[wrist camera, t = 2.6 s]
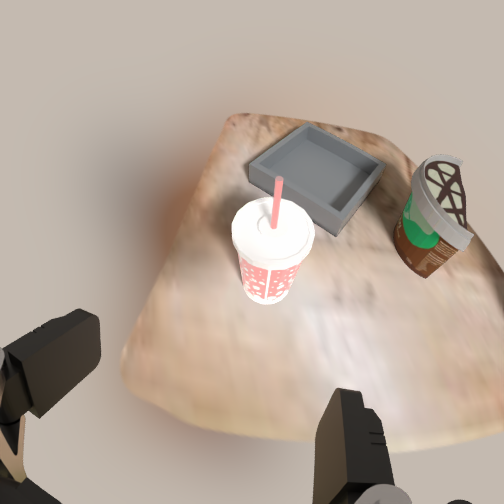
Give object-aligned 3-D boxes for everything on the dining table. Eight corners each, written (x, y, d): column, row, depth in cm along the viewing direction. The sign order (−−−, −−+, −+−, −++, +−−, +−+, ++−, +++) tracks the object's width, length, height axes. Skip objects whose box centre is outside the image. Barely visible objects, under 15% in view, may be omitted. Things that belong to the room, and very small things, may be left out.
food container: (389, 194, 36) (417, 136, 28) (429, 211, 35) (462, 158, 26) (377, 271, 30) (418, 213, 22) (424, 289, 29) (474, 239, 20)
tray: (379, 180, 38) (386, 164, 35) (335, 237, 32) (342, 220, 30) (304, 138, 42) (307, 121, 39) (248, 181, 36) (249, 163, 34)
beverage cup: (299, 259, 31) (328, 153, 19) (295, 315, 28) (331, 225, 16) (240, 252, 31) (237, 142, 19) (230, 307, 28) (218, 212, 16)
